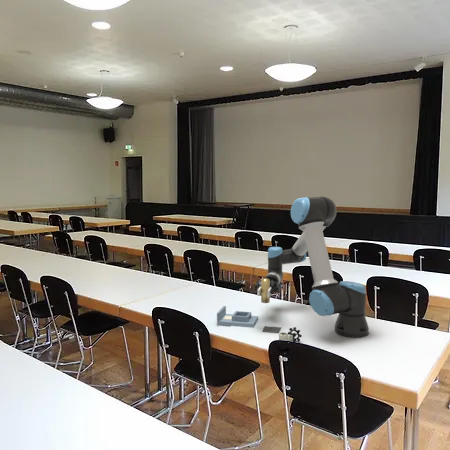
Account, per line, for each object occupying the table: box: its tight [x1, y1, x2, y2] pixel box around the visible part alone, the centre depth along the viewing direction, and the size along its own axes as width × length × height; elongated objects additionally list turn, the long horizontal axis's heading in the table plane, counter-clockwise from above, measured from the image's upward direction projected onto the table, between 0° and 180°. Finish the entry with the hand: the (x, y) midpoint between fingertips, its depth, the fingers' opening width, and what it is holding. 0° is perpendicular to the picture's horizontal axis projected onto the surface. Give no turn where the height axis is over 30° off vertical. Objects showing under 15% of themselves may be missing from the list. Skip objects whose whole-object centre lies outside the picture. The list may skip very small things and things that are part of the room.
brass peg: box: [260, 277, 271, 304], centre depth 204 cm, size 4×4×11 cm
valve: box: [278, 326, 303, 342], centre depth 185 cm, size 7×7×12 cm
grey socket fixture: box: [216, 305, 259, 328], centre depth 214 cm, size 18×12×6 cm, turn 75°
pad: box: [261, 325, 282, 334], centre depth 203 cm, size 8×8×1 cm
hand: (263, 293), depth 199 cm, fingers closed on brass peg, 4 cm apart
